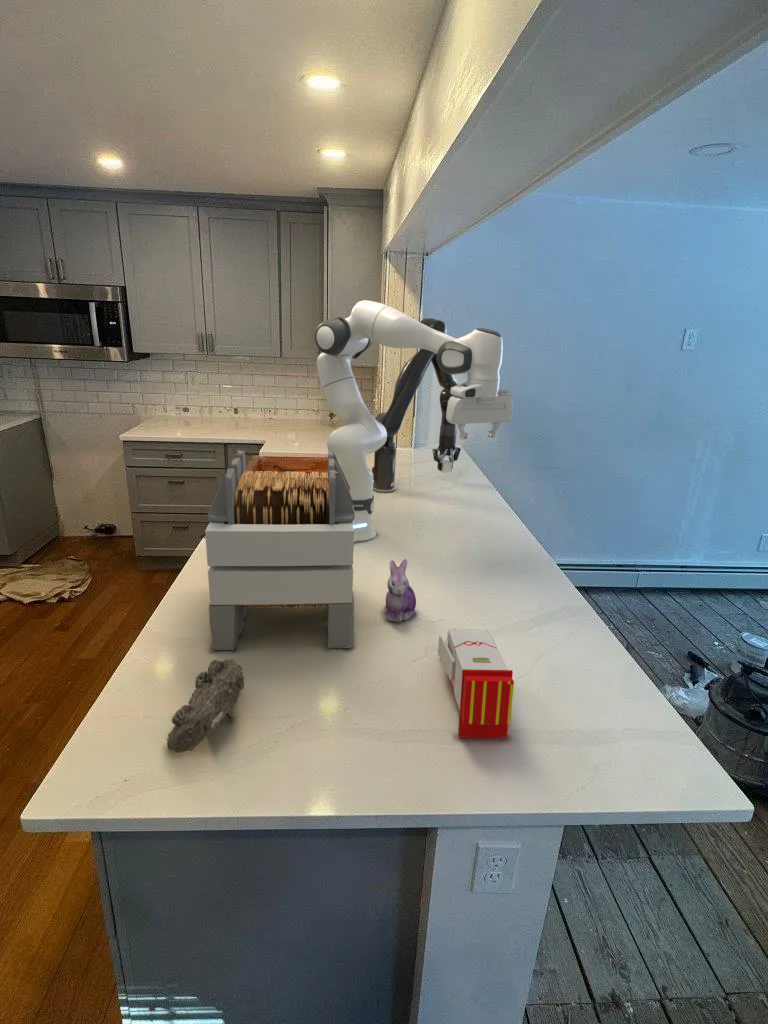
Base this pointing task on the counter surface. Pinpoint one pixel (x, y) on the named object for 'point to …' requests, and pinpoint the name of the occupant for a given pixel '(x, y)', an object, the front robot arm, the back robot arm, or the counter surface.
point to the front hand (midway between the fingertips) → (477, 438)
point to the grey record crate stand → (280, 548)
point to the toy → (478, 682)
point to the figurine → (399, 594)
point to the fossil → (206, 705)
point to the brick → (446, 466)
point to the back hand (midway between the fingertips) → (444, 469)
